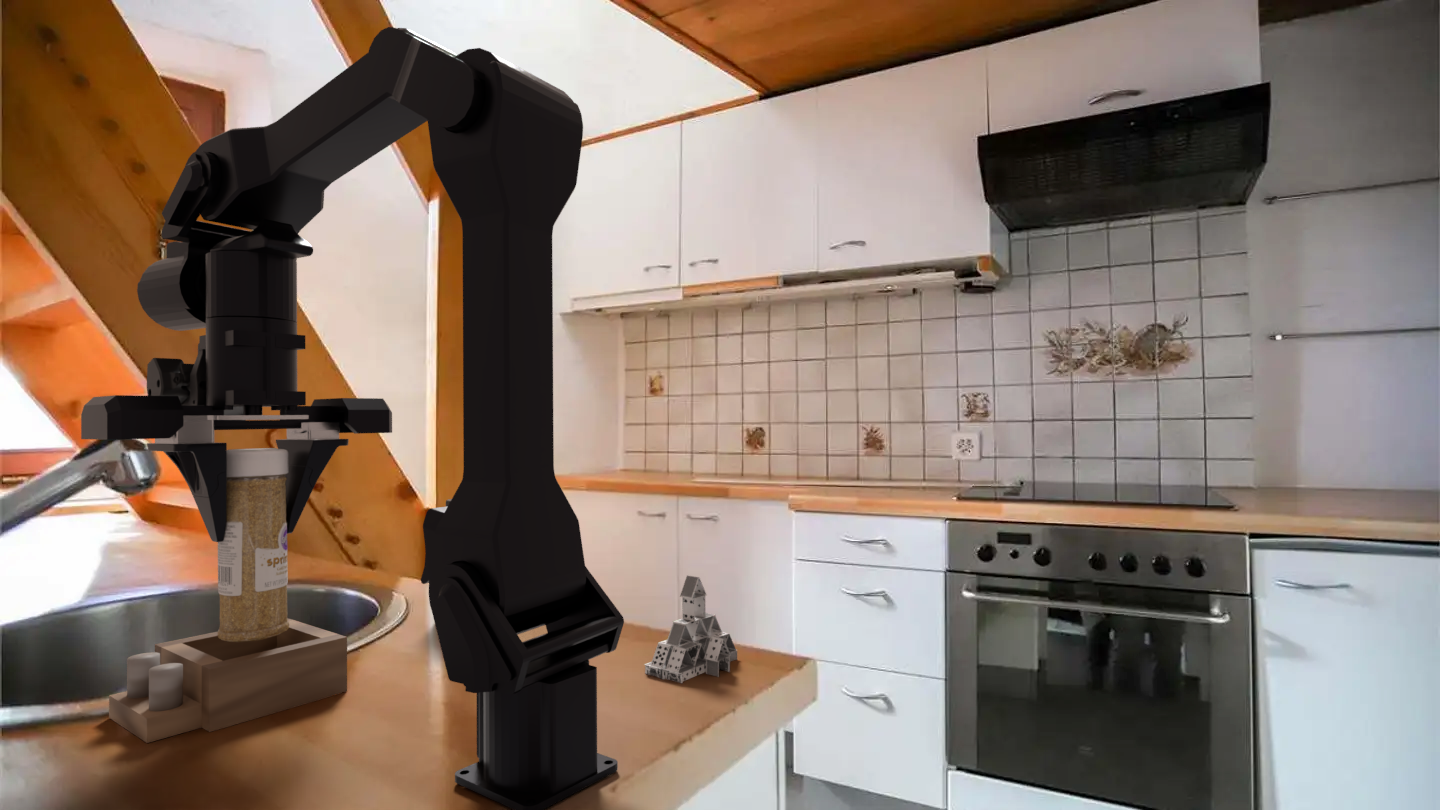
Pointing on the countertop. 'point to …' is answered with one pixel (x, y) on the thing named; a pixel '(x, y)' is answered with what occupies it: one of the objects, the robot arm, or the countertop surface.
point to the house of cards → (692, 641)
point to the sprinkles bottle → (254, 547)
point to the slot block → (227, 680)
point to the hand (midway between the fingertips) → (253, 537)
